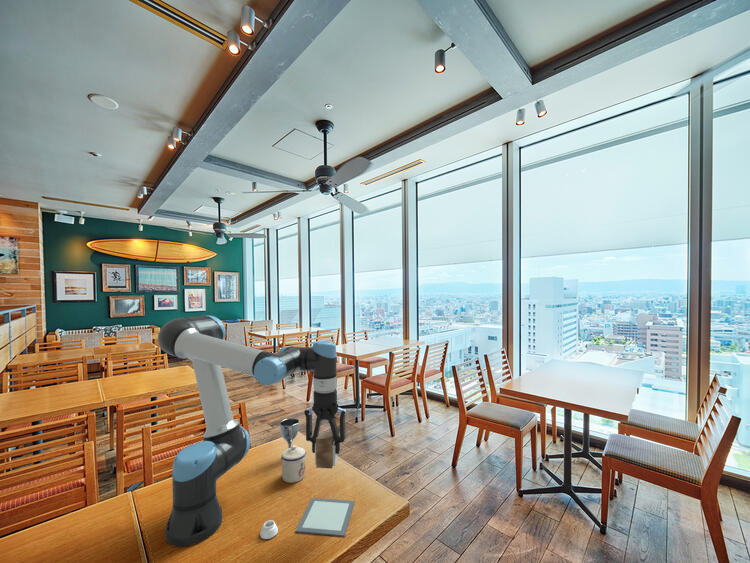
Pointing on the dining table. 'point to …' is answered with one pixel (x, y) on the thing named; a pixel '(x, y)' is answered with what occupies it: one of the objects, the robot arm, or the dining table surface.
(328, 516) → the coaster
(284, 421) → the silver goblet
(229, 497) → the dining table surface
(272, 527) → the lidless jar
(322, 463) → the block
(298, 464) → the teacup with lid
